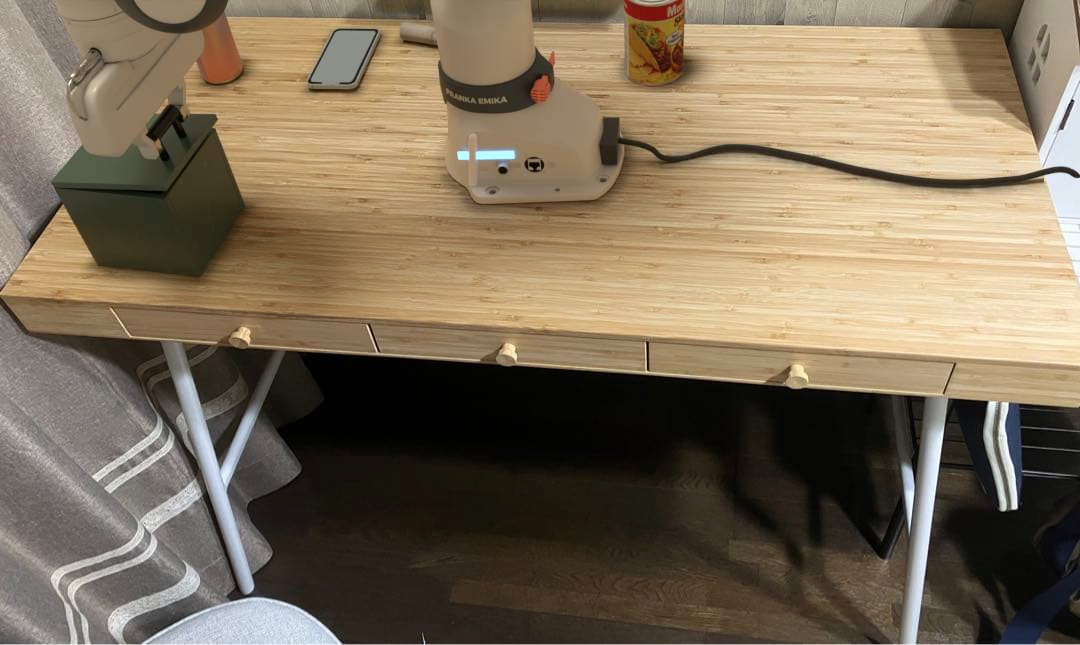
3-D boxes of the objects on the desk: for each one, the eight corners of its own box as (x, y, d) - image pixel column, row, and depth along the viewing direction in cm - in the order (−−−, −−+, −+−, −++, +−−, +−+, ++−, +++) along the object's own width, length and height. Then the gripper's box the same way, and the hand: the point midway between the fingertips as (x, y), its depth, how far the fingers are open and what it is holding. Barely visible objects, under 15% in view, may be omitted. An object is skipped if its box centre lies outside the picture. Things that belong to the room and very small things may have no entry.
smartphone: (381, 28, 148) (355, 85, 138) (383, 33, 149) (356, 91, 139) (333, 27, 150) (303, 84, 139) (335, 33, 150) (305, 90, 140)
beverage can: (194, 80, 144) (156, -16, 133) (220, 58, 148) (186, -38, 137) (226, 89, 142) (190, -8, 131) (252, 66, 146) (219, -30, 135)
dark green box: (245, 205, 125) (215, 127, 116) (200, 277, 116) (164, 199, 108) (148, 195, 127) (111, 119, 119) (96, 264, 119) (53, 188, 111)
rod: (400, 43, 147) (397, 26, 145) (409, 33, 148) (406, 16, 146) (473, 56, 143) (470, 39, 141) (481, 46, 145) (479, 29, 143)
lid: (218, 119, 115) (201, 83, 111) (166, 191, 107) (146, 154, 103) (111, 118, 119) (92, 84, 115) (53, 187, 111) (30, 152, 107)
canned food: (685, 83, 134) (688, 2, 126) (626, 88, 135) (625, 6, 126) (680, 51, 140) (682, -30, 131) (623, 55, 140) (621, -25, 131)
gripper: (90, 86, 92) (148, 201, 102) (190, -29, 105) (233, 83, 115) (31, 83, 94) (94, 196, 104) (137, -30, 107) (184, 81, 117)
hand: (168, 136), depth 110 cm, fingers closed on lid, 5 cm apart
